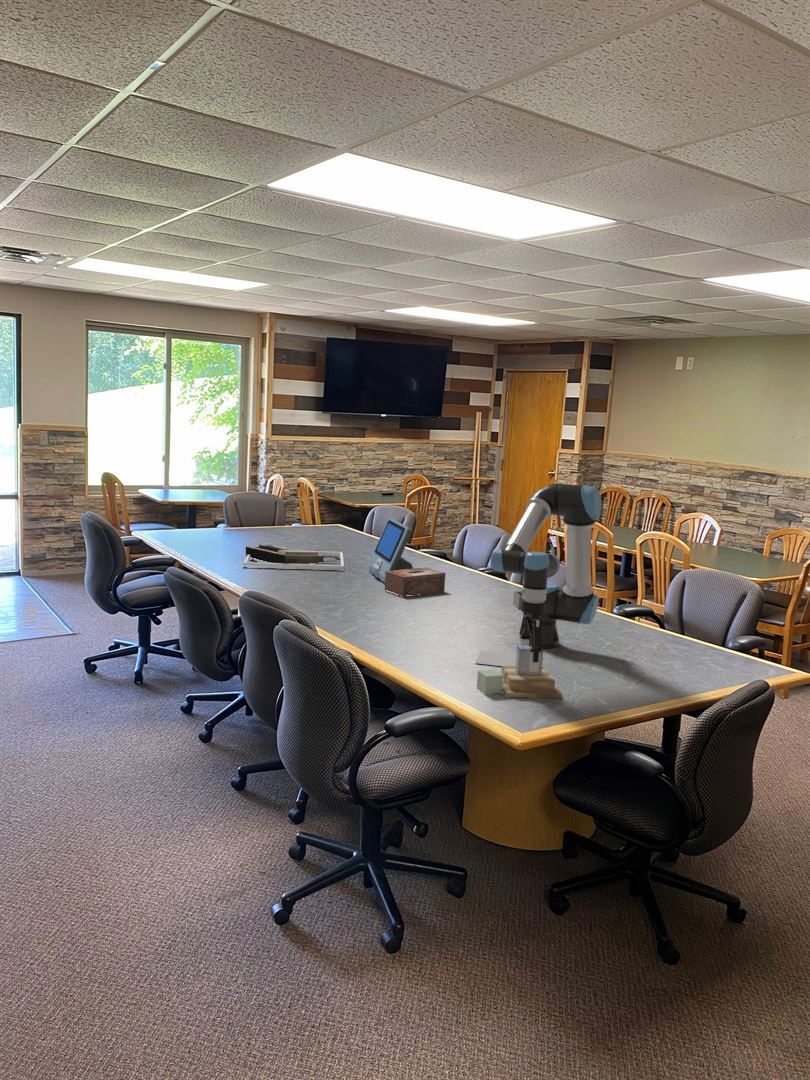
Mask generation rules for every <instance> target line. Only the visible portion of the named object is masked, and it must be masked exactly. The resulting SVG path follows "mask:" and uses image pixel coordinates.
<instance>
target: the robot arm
mask: <svg viewBox="0 0 810 1080" xmlns="http://www.w3.org/2000/svg"><path fill="white" fill-rule="evenodd" d="M524 506H525V507H524V509H525V511H524V513H523V514H522V516H521V517H520V519H519V521H518V523H517V525H516V527H515V528H514V530H513V532H512V533H511V535H510V537H509V538H508V540H507V542H506V544H505V545H504V547H503V548H495V549H494V550H493V551H492V552H491V555H490V567H491V568H492V570H494V571H497V572H501V573H508V574H516V575H523V578H522V579H523V581H522V589H521V590H520V591H521V593H522V598H523V599H524V600H522V604H521V609H520V611H521V612H522V619H521V625H520V629H519V635H520V636H519V642H520V644H519V646H532V649H531V650H530V652H531V656H530V669H529V671H530V672H538V670H539V657H540V652H542V649H554V648H557V647H559V645H560V636H559V632H558V631H559V630H558V628H557V621H562V622H569V623H574V624H575V623H576V624H579V625H580V624H582V625H590V624H592V623H593V621H594V618H595V616H596V614H597V610H598V606H599V600H600V599H599V595H598V594H595V590H594V587H593V586H592V585H590V584H591V583H590V582H591V554H592V553H591V551H592V549H591V547H592V527H593V526H594V525H595V524H596V520H599V518H601V514H602V507H603V506H602V498H601V492H600V491H599V490H598V488H597V487H594V486H590V485H585V484H584V485H583V484H571V483H570V484H568V483H560V482H557V483H556V482H555V483H549V484H547V485H545V486H543V487H541V488H540V489H537V490H536V491H535V492H534V493H533V494H532V495H531V496H530V497H529V498H528V500H527V502H526V504H525V505H524ZM551 516H560V517H561V516H562V518H563V519H562V520H563V521H562V522H563V524H564V525H566V526H567V527H566V529H567V530H566V531H567V533H566V534H567V535H566V537H567V538H566V584H564V585H563V587H562V589H561V587H560V586H559V584H555V583H548V578H551V577H553V576H555V575H556V574H557V573H558V572H559V570H560V568H561V563H560V562H561V561H560V560H559V557H558V556H557V555H555V554H554V553H549V552H548V553H546V552H544V551H543V552H542V551H528V550H529V548H530V547H531V545H532V543H533V542H534V541H535V538H536V536H537V534H538V532H539V531H540V529H541V527H542V526H543V524H544V522H545V521H546V520H548V519H549V518H550V517H551ZM536 647H537V648H536Z"/></svg>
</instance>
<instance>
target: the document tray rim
mask: <svg viewBox="0 0 810 1080" xmlns="http://www.w3.org/2000/svg"><path fill="white" fill-rule="evenodd" d="M312 551H313V552H317V551H318V550H317V551H316V550H312ZM321 552H322V553H321ZM317 553H318V554H324V555H325V554H326V555H328V554H329V555H340V559H341V560H339V563H340V562H341V565H340V564H283V563H259V562H255V561H251V562H248V561H249V559H250V555H249V554H248V555H247V557H246V556H245V558H244V560H243V565H256V566H258V565H259V566H287V567H288V566H290V567H314V568H342V569H344V570H345V565H344V564H345V563H344V555H343V551H321V550H319V551H318V552H317Z"/></svg>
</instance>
